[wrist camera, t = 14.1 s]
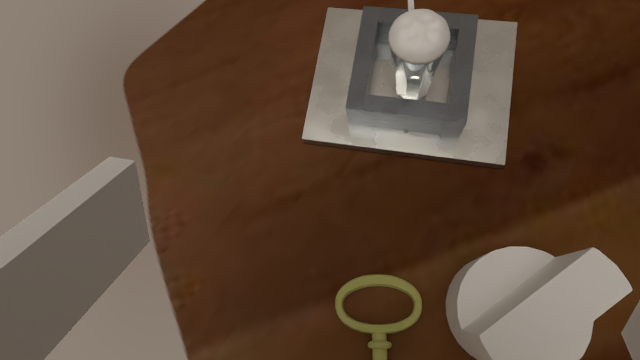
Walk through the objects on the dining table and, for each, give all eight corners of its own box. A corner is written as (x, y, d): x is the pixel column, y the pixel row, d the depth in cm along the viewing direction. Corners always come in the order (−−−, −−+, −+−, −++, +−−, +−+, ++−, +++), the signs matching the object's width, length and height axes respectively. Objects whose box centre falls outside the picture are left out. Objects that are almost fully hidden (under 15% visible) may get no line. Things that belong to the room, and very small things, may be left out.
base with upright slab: (506, 233, 39) (559, 204, 28) (584, 323, 36) (679, 332, 25) (422, 297, 39) (441, 294, 27) (496, 392, 36) (551, 435, 24)
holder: (513, 29, 44) (529, -2, 39) (501, 169, 40) (516, 152, 36) (329, 14, 47) (323, -17, 42) (303, 143, 43) (294, 124, 39)
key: (377, 437, 37) (377, 445, 35) (328, 287, 40) (326, 286, 38) (463, 408, 36) (468, 414, 34) (406, 260, 40) (408, 258, 38)
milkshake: (427, 49, 43) (440, -23, 33) (443, 100, 42) (461, 39, 32) (379, 61, 43) (379, -7, 34) (393, 112, 42) (398, 55, 32)
